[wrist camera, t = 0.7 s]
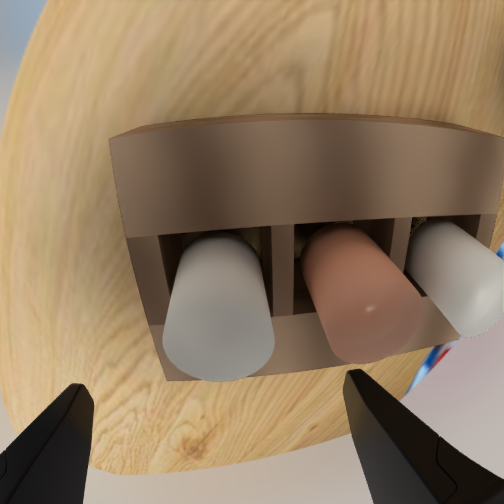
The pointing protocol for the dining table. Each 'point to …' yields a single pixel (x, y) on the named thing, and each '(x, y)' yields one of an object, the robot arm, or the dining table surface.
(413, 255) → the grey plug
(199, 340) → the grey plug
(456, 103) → the dining table surface
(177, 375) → the walnut socket block
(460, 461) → the robot arm
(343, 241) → the terracotta plug
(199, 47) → the dining table surface
